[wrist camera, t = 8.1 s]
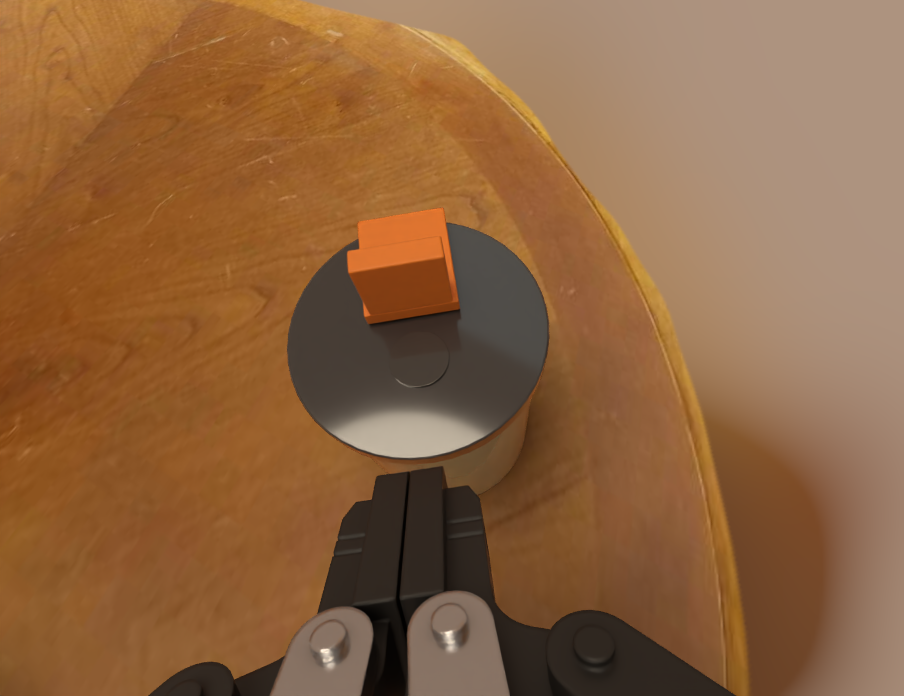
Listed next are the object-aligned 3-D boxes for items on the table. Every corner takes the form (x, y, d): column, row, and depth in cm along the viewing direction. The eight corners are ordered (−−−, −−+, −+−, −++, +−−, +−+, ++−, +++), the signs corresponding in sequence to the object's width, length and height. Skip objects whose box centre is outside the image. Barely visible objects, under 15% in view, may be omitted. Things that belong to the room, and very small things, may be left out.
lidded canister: (547, 492, 26) (578, 434, 15) (375, 519, 26) (284, 480, 15) (514, 336, 30) (521, 200, 19) (364, 361, 30) (285, 240, 19)
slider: (460, 309, 17) (451, 255, 14) (367, 324, 17) (340, 274, 14) (445, 217, 19) (434, 151, 16) (361, 231, 19) (335, 168, 16)
